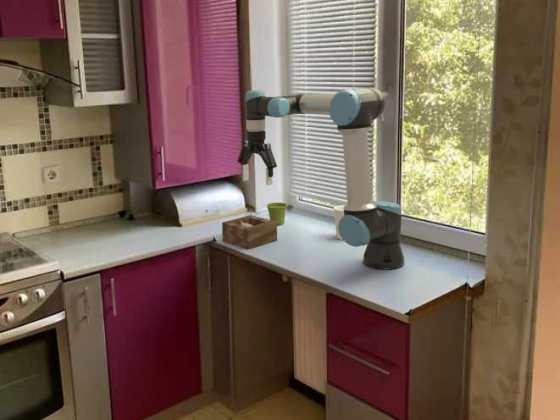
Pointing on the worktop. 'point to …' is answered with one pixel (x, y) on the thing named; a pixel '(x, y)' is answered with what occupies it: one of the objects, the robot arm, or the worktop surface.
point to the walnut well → (249, 232)
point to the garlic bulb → (245, 224)
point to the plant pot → (277, 212)
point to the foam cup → (338, 217)
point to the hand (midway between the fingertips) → (257, 182)
